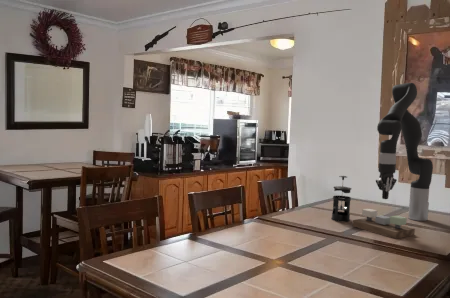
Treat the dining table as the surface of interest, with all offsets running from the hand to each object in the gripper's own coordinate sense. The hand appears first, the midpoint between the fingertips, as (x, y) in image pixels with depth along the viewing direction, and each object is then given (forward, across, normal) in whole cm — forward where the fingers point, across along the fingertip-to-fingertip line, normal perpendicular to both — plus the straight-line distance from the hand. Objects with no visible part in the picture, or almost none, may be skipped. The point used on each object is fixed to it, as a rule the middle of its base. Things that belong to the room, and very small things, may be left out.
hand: (385, 198), depth 199 cm
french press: (+15, +2, -24) cm, 29 cm away
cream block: (+13, 0, -8) cm, 15 cm away
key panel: (+15, 0, 0) cm, 15 cm away
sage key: (+13, 0, +8) cm, 15 cm away
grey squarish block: (+14, 0, 0) cm, 14 cm away
